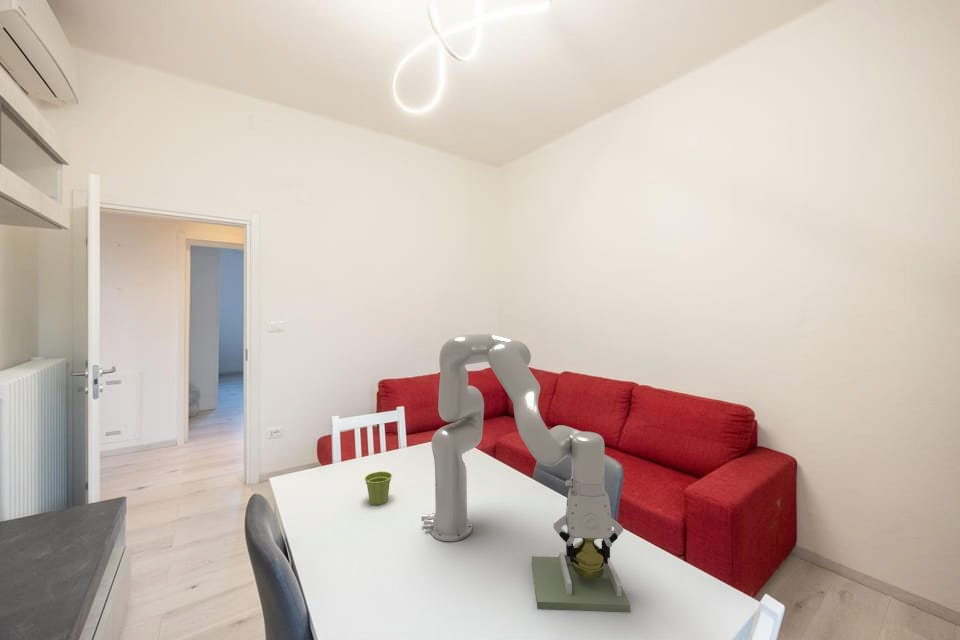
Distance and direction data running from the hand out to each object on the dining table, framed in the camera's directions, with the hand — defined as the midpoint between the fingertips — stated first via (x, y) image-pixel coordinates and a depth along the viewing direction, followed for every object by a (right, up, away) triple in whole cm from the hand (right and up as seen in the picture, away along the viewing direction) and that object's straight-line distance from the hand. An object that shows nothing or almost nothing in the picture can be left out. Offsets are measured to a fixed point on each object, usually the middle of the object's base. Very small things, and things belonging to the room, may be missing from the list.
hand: (587, 559), depth 91 cm
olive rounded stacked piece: (0, -3, 0) cm, 3 cm away
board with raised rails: (-3, -6, 0) cm, 7 cm away
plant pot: (-61, -7, +43) cm, 75 cm away
